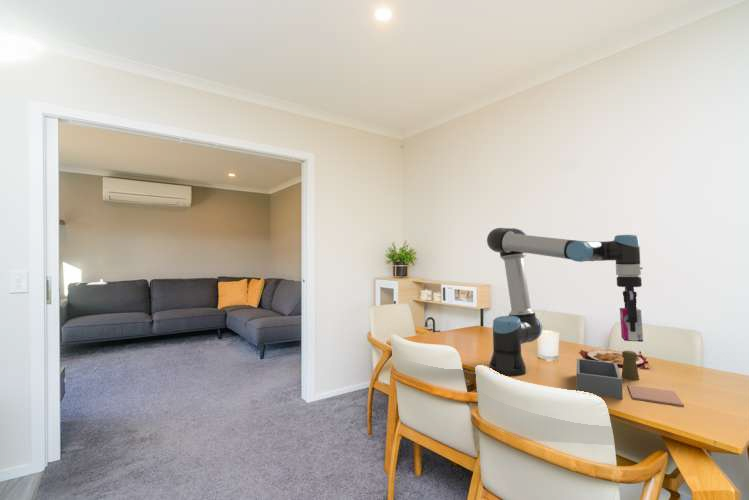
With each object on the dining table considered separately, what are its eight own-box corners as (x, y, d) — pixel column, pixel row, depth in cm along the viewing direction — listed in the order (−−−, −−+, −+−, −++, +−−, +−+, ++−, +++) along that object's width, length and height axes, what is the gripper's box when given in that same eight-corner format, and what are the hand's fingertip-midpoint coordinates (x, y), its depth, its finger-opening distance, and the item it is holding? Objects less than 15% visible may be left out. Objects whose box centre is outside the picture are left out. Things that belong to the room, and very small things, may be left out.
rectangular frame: (576, 392, 132) (576, 373, 133) (577, 375, 152) (576, 358, 152) (622, 399, 125) (622, 379, 126) (616, 380, 145) (616, 362, 145)
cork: (642, 380, 144) (641, 353, 144) (625, 380, 145) (624, 352, 145) (634, 375, 150) (633, 349, 150) (618, 375, 151) (617, 349, 151)
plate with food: (580, 353, 188) (580, 346, 188) (641, 357, 177) (641, 350, 177) (586, 367, 166) (586, 359, 166) (657, 372, 155) (656, 364, 155)
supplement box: (639, 338, 133) (638, 307, 134) (643, 342, 128) (641, 310, 128) (621, 337, 136) (619, 307, 136) (623, 340, 131) (622, 309, 131)
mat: (632, 398, 126) (632, 397, 126) (627, 386, 138) (627, 384, 138) (683, 406, 119) (683, 404, 119) (674, 392, 131) (674, 391, 131)
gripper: (644, 277, 123) (648, 344, 122) (637, 275, 139) (641, 334, 138) (618, 277, 127) (622, 342, 126) (614, 275, 143) (617, 333, 142)
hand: (632, 338), depth 132 cm, fingers closed on supplement box, 6 cm apart
